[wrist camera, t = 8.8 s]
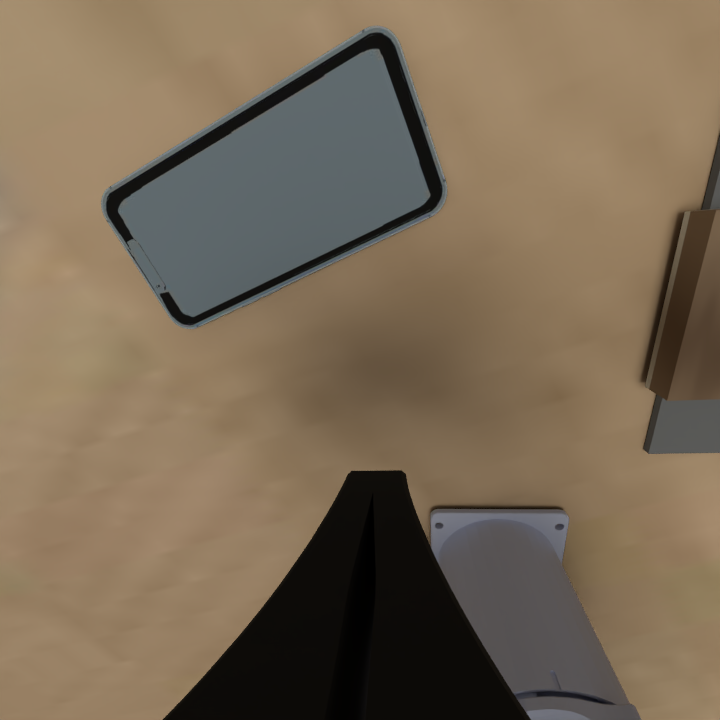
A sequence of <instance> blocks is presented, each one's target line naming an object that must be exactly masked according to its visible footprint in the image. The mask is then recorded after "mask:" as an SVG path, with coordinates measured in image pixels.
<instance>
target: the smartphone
mask: <svg viewBox="0 0 720 720" xmlns="http://www.w3.org/2000/svg"><path fill="white" fill-rule="evenodd" d="M446 197H447V184H446V180H445V177H444V174H443V171H442V168H441V165H440V162H439V159H438V156H437V153H436V150H435V147H434V144H433V141H432V138H431V135H430V132H429V129H428V126H427V123H426V120H425V117H424V114H423V111H422V108H421V105H420V102H419V99H418V96H417V93H416V90H415V87H414V84H413V81H412V78H411V75H410V72H409V69H408V66H407V63H406V60H405V57H404V54H403V51H402V48H401V45H400V43H399V40H398V39H397V37H396V36H395V35H394V34H393V32H392V31H390V30H389V29H387V28H385V27H382V26H371V27H368V28H366V29H364V30H362V31H360V32H359V33H357V34H356V35H354V36H352V37H351V38H349V39H348V40H346V41H344V42H343V43H341V44H339V45H338V46H336V47H335V48H333V49H331V50H330V51H328V52H327V53H325V54H323V55H322V56H320V57H318V58H317V59H315V60H314V61H312V62H310V63H309V64H307V65H306V66H304V67H302V68H301V69H299V70H298V71H296V72H294V73H293V74H291V75H289V76H288V77H286V78H285V79H283V80H281V81H280V82H278V83H277V84H275V85H273V86H272V87H270V88H268V89H267V90H265V91H264V92H262V93H260V94H259V95H257V96H256V97H254V98H252V99H251V100H249V101H247V102H246V103H244V104H243V105H241V106H239V107H238V108H236V109H235V110H233V111H231V112H230V113H228V114H227V115H225V116H223V117H222V118H220V119H218V120H217V121H215V122H214V123H212V124H210V125H209V126H207V127H206V128H204V129H202V130H201V131H199V132H197V133H196V134H194V135H193V136H191V137H189V138H188V139H186V140H185V141H183V142H181V143H180V144H178V145H177V146H175V147H173V148H172V149H170V150H168V151H167V152H165V153H164V154H162V155H160V156H159V157H157V158H156V159H154V160H152V161H151V162H149V163H147V164H146V165H144V166H143V167H141V168H139V169H138V170H136V171H135V172H133V173H131V174H130V175H128V176H126V177H125V178H123V179H122V180H120V181H118V182H117V183H115V184H114V185H112V186H110V187H109V188H108V189H106V191H105V192H104V194H103V196H102V200H101V207H102V212H103V214H104V217H105V219H106V220H107V222H108V224H109V225H110V227H111V228H112V230H113V231H114V233H115V234H116V236H117V237H118V239H119V240H120V242H121V244H122V245H123V247H124V248H125V250H126V251H127V253H128V254H129V256H130V257H131V259H132V260H133V262H134V263H135V265H136V267H137V268H138V270H139V271H140V273H141V274H142V276H143V277H144V279H145V280H146V282H147V283H148V285H149V287H150V288H151V290H152V291H153V293H154V294H155V296H156V297H157V299H158V300H159V302H160V303H161V305H162V307H163V308H164V310H165V311H166V313H167V314H168V316H169V317H170V319H171V320H172V321H173V322H174V323H175V324H177V325H178V326H180V327H182V328H186V329H194V328H197V327H200V326H202V325H204V324H206V323H208V322H210V321H212V320H214V319H216V318H219V317H221V316H223V315H225V314H228V313H230V312H232V311H234V310H235V309H238V308H240V307H244V306H246V305H248V304H250V303H252V302H254V301H257V300H259V298H261V297H265V296H267V295H269V294H271V293H273V292H276V291H278V290H280V288H282V287H284V286H286V285H288V284H290V283H292V282H295V281H297V280H299V279H301V278H303V277H305V276H307V275H309V274H311V273H314V272H316V271H318V270H320V269H322V268H324V267H326V266H328V265H330V264H333V263H335V262H337V261H339V260H341V259H343V258H345V257H347V256H349V255H352V254H354V253H356V252H358V251H360V250H362V249H364V248H366V247H368V246H371V245H373V244H375V243H377V242H379V241H381V240H383V239H385V238H387V237H390V236H392V235H394V234H396V233H398V232H400V231H402V230H404V229H407V228H409V227H411V226H413V225H415V224H417V223H419V222H421V221H423V220H426V219H428V218H430V217H432V216H433V215H435V214H436V213H437V212H439V210H440V209H441V208H442V206H443V205H444V203H445V200H446Z"/></svg>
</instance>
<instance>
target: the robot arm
mask: <svg viewBox="0 0 720 720" xmlns="http://www.w3.org/2000/svg"><path fill="white" fill-rule="evenodd" d="M436 523H441V524H436ZM430 524H431V547H430V544H429V542H428V540H427V538H426V535H425V533H424V531H423V528H422V526H421V524H420V521H419V519H418V516H417V513H416V511H415V508H414V505H413V502H412V499H411V496H410V492H409V489H408V484H407V479H406V474H405V473H404V472H402V471H351V472H350V473H349V474H348V475H347V477H346V480H345V482H344V484H343V486H342V488H341V490H340V491H339V493H338V495H337V497H336V499H335V501H334V502H333V504H332V506H331V508H330V509H329V511H328V513H327V515H326V516H325V518H324V520H323V521H322V523H321V524H320V526H319V528H318V529H317V531H316V532H315V534H314V536H313V537H312V539H311V540H310V542H309V543H308V545H307V546H306V548H305V549H304V551H303V552H302V554H301V555H300V557H299V558H298V559H297V561H296V562H295V564H294V565H293V567H292V568H291V569H290V571H289V572H288V574H287V575H286V577H285V578H284V579H283V581H282V582H281V584H280V585H279V586H278V588H277V589H276V590H275V592H274V593H273V594H272V596H271V597H270V598H269V599H268V601H267V602H266V603H265V605H264V606H263V607H262V608H261V610H260V611H259V612H258V613H257V615H256V616H255V617H254V618H253V620H252V621H251V622H250V623H249V624H248V626H247V627H246V628H245V629H244V631H243V632H242V633H241V634H240V635H239V637H238V638H237V639H236V640H235V641H234V642H233V643H232V645H231V646H230V647H229V648H228V649H227V650H226V651H225V653H224V654H223V655H222V656H221V657H220V658H219V659H218V661H217V662H216V663H215V664H214V665H213V666H212V667H211V669H210V670H209V671H208V672H207V673H206V674H205V675H204V676H203V678H202V679H201V680H200V681H199V682H198V683H197V684H196V685H195V686H194V687H193V689H192V690H191V691H190V692H189V693H188V694H187V695H186V696H185V697H184V698H183V699H182V700H181V701H180V702H179V703H178V704H177V705H176V706H175V708H174V709H173V710H172V711H171V712H170V713H169V714H168V715H167V716H166V717H165V718H164V719H163V720H641V718H640V716H639V714H638V712H637V710H636V708H635V706H634V705H632V704H630V703H629V701H628V699H627V697H626V695H625V693H624V690H623V688H622V686H621V684H620V682H619V680H618V678H617V676H616V674H615V672H614V670H613V668H612V666H611V664H610V662H609V660H608V658H607V656H606V654H605V652H604V650H603V648H602V646H601V643H600V641H599V639H598V637H597V635H596V633H595V631H594V629H593V627H592V625H591V623H590V621H589V619H588V617H587V615H586V613H585V611H584V609H583V607H582V605H581V603H580V601H579V599H578V597H577V594H576V592H575V590H574V588H573V586H572V584H571V582H570V580H569V578H568V576H567V574H566V572H565V570H564V568H563V566H562V560H563V554H564V548H565V542H566V536H567V530H568V524H569V517H568V515H567V514H566V512H565V511H563V510H559V509H435V510H433V511H432V512H431V514H430ZM557 524H559V525H557Z"/></svg>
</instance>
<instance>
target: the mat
mask: <svg viewBox="0 0 720 720" xmlns="http://www.w3.org/2000/svg"><path fill="white" fill-rule="evenodd" d="M709 209H720V137H719V141H718V145H717V150H716V154H715V158H714V162H713V166H712V170H711V174H710V178H709V182H708V187H707V191H706V195H705V199H704V203H703V207H702V210H709ZM644 450H645V451H646V452H647V453H648V454H663V453H720V399H714V400H680V401H666V400H665V399H663V398H662V397H660V396H659V395H657V396H656V400H655V404H654V408H653V412H652V416H651V420H650V425H649V429H648V433H647V437H646V441H645V445H644Z"/></svg>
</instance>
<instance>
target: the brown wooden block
mask: <svg viewBox="0 0 720 720" xmlns="http://www.w3.org/2000/svg"><path fill="white" fill-rule="evenodd" d="M645 387H646V388H648V389H650V390H651V391H653V392H654V393H656V394H657V395H659V396H660V397H662V398H663V399H665V400H666V401H680V400H714V399H720V209H709V210H698V211H687V212H685V214H684V218H683V222H682V227H681V231H680V236H679V240H678V244H677V249H676V253H675V257H674V262H673V266H672V271H671V275H670V279H669V284H668V288H667V293H666V297H665V301H664V306H663V310H662V314H661V319H660V323H659V328H658V332H657V336H656V341H655V345H654V349H653V354H652V358H651V363H650V367H649V371H648V376H647V380H646V384H645Z"/></svg>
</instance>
